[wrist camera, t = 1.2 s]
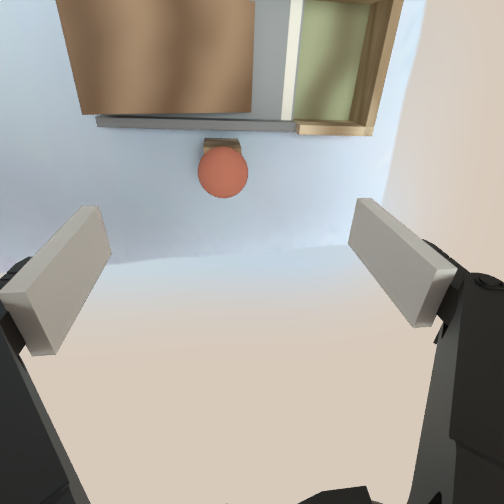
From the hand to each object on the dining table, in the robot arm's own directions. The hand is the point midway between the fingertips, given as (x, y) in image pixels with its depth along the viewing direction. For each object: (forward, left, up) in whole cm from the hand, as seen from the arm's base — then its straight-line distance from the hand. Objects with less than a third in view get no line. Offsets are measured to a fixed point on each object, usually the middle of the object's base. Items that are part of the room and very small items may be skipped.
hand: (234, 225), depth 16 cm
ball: (0, -1, -12) cm, 12 cm away
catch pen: (+10, +8, -19) cm, 23 cm away
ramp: (-4, +8, -17) cm, 19 cm away
